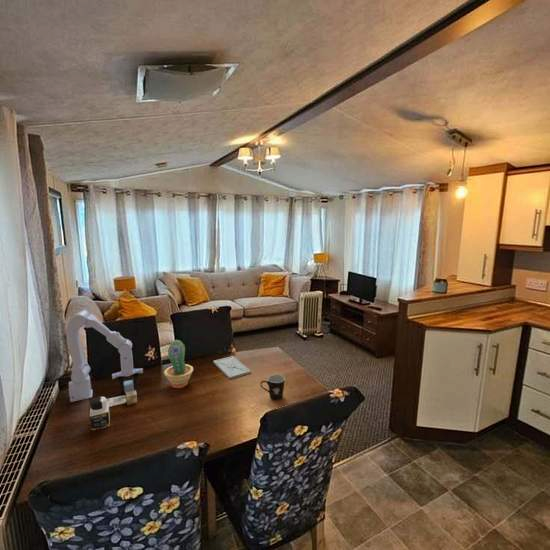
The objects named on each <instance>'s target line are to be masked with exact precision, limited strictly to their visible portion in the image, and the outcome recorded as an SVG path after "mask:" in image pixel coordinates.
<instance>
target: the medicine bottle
mask: <svg viewBox="0 0 550 550" xmlns="http://www.w3.org/2000/svg"><path fill="white" fill-rule="evenodd" d="M106 399H107V398H106V397H105V396H96V397H95V398H92V400H91V401H90V402H89V403H90V408H89V409H90V410H89V423H90V424H89V425H90V430H93V431H96V429H97V430H101V429H104V428H108V427H110V426H111V425H110V424H111V422H110V421H111V420H110V417H111V415H110V407H109V404H107V402H106ZM107 426H108V427H107ZM100 428H101V429H100Z"/></svg>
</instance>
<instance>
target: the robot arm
mask: <svg viewBox="0 0 550 550" xmlns="http://www.w3.org/2000/svg"><path fill="white" fill-rule="evenodd" d="M83 327H84V328H93V329H94V330H95V331H97V332H99V333H101V335H103V336H105V338H106V341H107V342H108V343H109V344H111V345H112V346H114V348H116V349H118V350H117V352H118V353H119V355H120V357H119V359H120V369H121V370H120V371H118V372H115V373H112V374H111V377H112V380H114V379H116V378H117V381H118V383H119V385H121V387H122V391H124V377H130V376H131V375H132V380H133V383H134V389H135V388H136V383H137V380H138V378H139V374H143V373H144V368H143V367H142V368H134V360H133V357H134V356H133V350H132V348H133V342H132V341H131V340H130V339H127V338H124V337H123V336H122V335H121V332H119V331H114V330H113V331H111V330H110V329H109V328H108V327H107V326H106V325H105V324H103V323H102V322H101V321H100V319H99V318H97V317H96V316H95V314H93V313H91V312H90V311H89V310H88V309H82V310H80V311H79V312H77V313H76V314H75V315H74V316H72V318H70V319H69V321H68V324H67V325H66V328H65V335H66V338H67V344H68V348H69V352H70V357H71V362H72V366H71V375H70V379H71V381H69V382H68V396H69V402H70V403H72V402H76V401H81V400H87V399H90V398H93V391H94V390H93V389H92V385H91V376H90V375H89V373H90V372H91V366H90V365H89V364H88V360H87V359H85V355H84V351H83V346H82V341H81V335H80V332H79V331H80V329H81V328H83Z"/></svg>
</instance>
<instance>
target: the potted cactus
mask: <svg viewBox="0 0 550 550" xmlns="http://www.w3.org/2000/svg"><path fill="white" fill-rule="evenodd" d="M185 354H186V346H185V344H184V343H183V342H182V341H181V340H180V339H179V340H178V339H175V340H172V341H171V343H170V345H169V346H168V349H167V355H168V359H169V360H170V361H169V362H170V363H171V366H168V367H167V368H166V369H165V370H164V371H163V373H164V376H165V378H166V379H167V380H168V382H169V383H170V386H171V387H172V388H174V389H175V388H176V389H181V388H184V387H185V386H187V385H188V384H189V380H190V378H191V376H192V374H193V372H194V367H193V366H192V365H190V364H188V363H187V364H186V362H185Z"/></svg>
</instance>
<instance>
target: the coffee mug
mask: <svg viewBox="0 0 550 550" xmlns="http://www.w3.org/2000/svg"><path fill="white" fill-rule="evenodd" d="M285 380H286V378H285V376H284V375H281V374H272V375H269V376H268V377H267V380H262V381H260V387H261V388H262V389H263V390H265V391H266V392H267V393H269V399H271V400H272V401H280V400H282V399H283V397H284V390H285V389H284V388H285ZM262 383H267V386H268V389H267V388H265V387H263V384H262Z"/></svg>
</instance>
